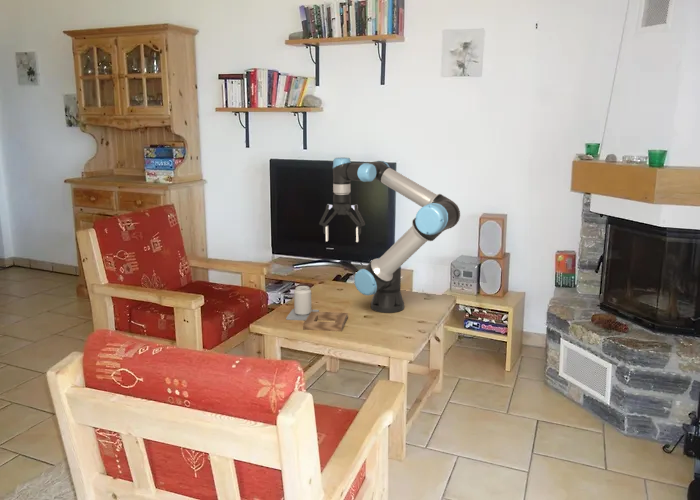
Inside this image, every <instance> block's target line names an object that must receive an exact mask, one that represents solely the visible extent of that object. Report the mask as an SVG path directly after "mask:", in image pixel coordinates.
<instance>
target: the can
mask: <svg viewBox="0 0 700 500" xmlns="http://www.w3.org/2000/svg"><path fill="white" fill-rule="evenodd" d="M293 299H294V301H293V302H294V303H293V305H294V308H293V309H294V310H295V313H296V314H297V315H300V316H306V315H309V314H310V313H311V311H312V310H313V309H312V290H311V288H310V286H308V285H299V286H296V287H295V289H294V290H293Z"/></svg>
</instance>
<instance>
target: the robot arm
mask: <svg viewBox="0 0 700 500" xmlns="http://www.w3.org/2000/svg"><path fill="white" fill-rule="evenodd" d="M332 163H333V164H332V175H333V176H332V177H333V182H332V186H333V187H332V190H333V191H332V193H333V196H332V197H333V198H332V201H333V202H332V203H333V204H330V203H327V204H326V206H325V210H324V212H323V214H322V216H321V218H320V221H319V222H318V225H319V226H322V231H323V234H325V242H328V241H329V225H328V224H329V223H330V222H331V220H332V219H333V218H334V217H335V216H336V215H337V216H341V215H342V216H346V215H347V216H348V217H349V218H350V219H351V220H352V222H353V223H355V225H356V228H355V236H356V237H355V242H356V243H359V242H360V239H359V236H360V235H361V234H362V227H364V226H366V222H365V220H364V218H363V216H362V214H361V212H360V211H359V205H358V204H351V202H352V200H351V199H352V198H351V197H352V196H351V181H353V182H355V181H356V182H363V183H366V182H367V183H368V182H373V181H374V180H376V181H378V182H379V183H381V184H383V185H385V186H387V188H389V189H391V190H393V191H395V192H396V193H398V194H400V195H402V196H403V197H405V198H406V199H407V200H409V201H411V202H413V203H415V204H417V205H418V206H420V208H419V209H418V211H417V212H416V214H415V217H414V219H412V223H411V224H412V226H410V228H409V229H408V230H406V232H405V233H404V234H403V235H401V237H399V238H398V240H396V241H395V243H393V244H392V245H391V246H390V248H388V249H387V250H386V251H385V252H384V253H383V254H382V255H381V256H380V257H378V258H377V257H376V258H374V259H372V260H371V261H370V262H369V263H368V264H367V265H366V266H365V267H364V268H360V269H359V270H358V271H357V272H355V274H354V277H353V279H354V285H355V288H356V290H357V291H358V292H359V293H360V294H362V295H364V296H371V295H372V299H371V303H370V308H371V310H372V311H375V312H379V313H386V314H387V313H388V314H390V313H391V314H392V313H399V312H401V311H403V310H404V309H405V302H404V298H403V296H402V295H403V294H402V293H401V281H402V280H401V279H402V277H401V276H402V266H403V265H404V263H406V261H408V260H409V259H410V258H411V257H412V256H413V255H414V254H416V252H417V251H418V250H419V249H420V248H421V247H422V246H424V245H425V244H426V243H427V242H433V241H435V239H437V238H438V237H439V236H440V234H442V233H443V232H445V231H446V230H449V229H450V230H451V229H452V228H454V227H455V226H456V225H457V224H458V223H459V222H460V218H461V210H460V208H459V206H458V204H457V203H455V202H454V201H453V200H451V199H450V198H449V197H446V196H445V195H443V194H441V193H438V194H436V193H434V192H433V191H431V190H429V189H428V188H426V187H424V186H422V185H421V184H419V183H417V182H415V181H413V180H412V179H410V178H409V177H407V176H406V175H404V174H403V173H400V172H398V171H396V170H395V169H394V168H391V167H390V165H389V164H388V162H387V161H384V160H376V161H371V162H370V161H369V162H368V161H367V162H351V159H350V157H341V156H340V157H334V158H333V162H332ZM331 209H333V212H332V214H331V215H330V216H329V217H328V219H326V217H327V215H328V214H329V211H330V210H331ZM351 209H353V210H354V212H355V215H356V216H357V217H355V215H354V214H353V213H352V211H351ZM357 218H358V219H357ZM325 219H326V220H325Z"/></svg>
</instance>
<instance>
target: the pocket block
mask: <svg viewBox="0 0 700 500" xmlns="http://www.w3.org/2000/svg"><path fill="white" fill-rule="evenodd" d="M348 318H349V317H348V312H335V311H334V312H331V311H329V312H328V311H319V312H313V311H311V313H310V314H309V316H308V317H307V319H306V320H304V322H303V324H302V326H303V330H305V331H306V330H307V331H324V332H325V331H327V332H330V331H331V332H342V331H343V330H344V328H345V325H346V323H347V320H348Z"/></svg>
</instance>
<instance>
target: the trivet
mask: <svg viewBox="0 0 700 500" xmlns="http://www.w3.org/2000/svg"><path fill="white" fill-rule="evenodd" d="M312 311H313V312H320V310H319V309H312ZM308 316H309V315H306V316H300V315H297V314H296V313H295V310H294V308H292V309H291V310H290V312H289V313H288V314H287V316H286V320H289V321H305V320H306V319H307V317H308Z"/></svg>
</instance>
